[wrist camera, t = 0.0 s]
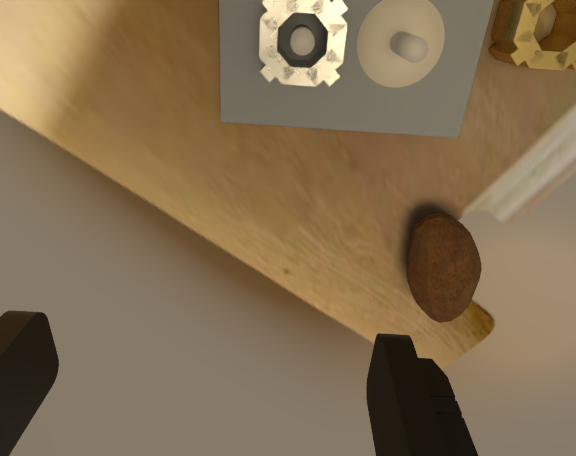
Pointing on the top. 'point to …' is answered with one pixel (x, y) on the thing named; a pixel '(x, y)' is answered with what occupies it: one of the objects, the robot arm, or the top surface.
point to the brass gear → (522, 44)
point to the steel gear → (321, 66)
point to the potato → (442, 266)
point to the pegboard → (359, 67)
